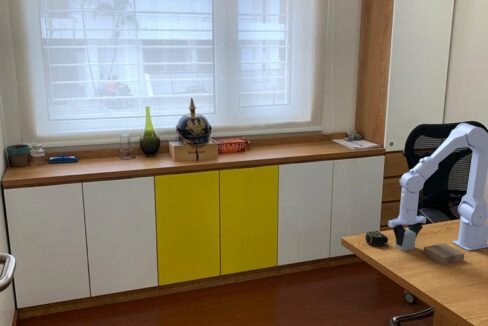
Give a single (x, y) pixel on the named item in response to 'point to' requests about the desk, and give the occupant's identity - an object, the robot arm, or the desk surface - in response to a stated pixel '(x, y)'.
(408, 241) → the grey block
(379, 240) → the tape measure
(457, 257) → the walnut base
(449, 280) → the desk surface
